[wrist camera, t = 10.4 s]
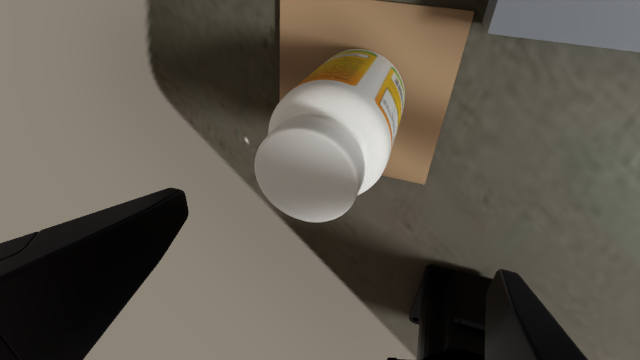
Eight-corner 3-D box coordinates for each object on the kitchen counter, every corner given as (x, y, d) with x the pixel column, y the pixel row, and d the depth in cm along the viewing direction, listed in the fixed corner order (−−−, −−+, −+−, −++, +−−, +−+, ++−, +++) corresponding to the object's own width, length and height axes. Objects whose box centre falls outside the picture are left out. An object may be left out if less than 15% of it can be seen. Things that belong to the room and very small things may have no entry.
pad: (425, 181, 22) (424, 184, 22) (281, 150, 24) (279, 152, 24) (474, 10, 17) (474, 11, 16) (282, -11, 19) (280, -11, 18)
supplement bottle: (299, 102, 22) (215, 182, 14) (348, 25, 18) (275, 73, 11) (368, 153, 22) (323, 259, 14) (426, 87, 19) (412, 177, 11)
